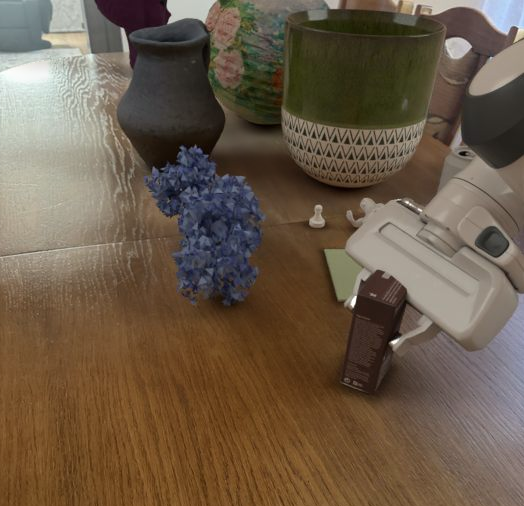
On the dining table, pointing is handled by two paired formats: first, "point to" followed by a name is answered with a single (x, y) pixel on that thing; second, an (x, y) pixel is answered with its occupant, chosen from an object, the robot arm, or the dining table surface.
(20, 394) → the dining table surface
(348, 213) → the figurine
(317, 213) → the chess pawn
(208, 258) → the decorative sculpture
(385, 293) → the box
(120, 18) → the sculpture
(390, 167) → the planter
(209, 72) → the floral painted vase
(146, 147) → the pitcher
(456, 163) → the can
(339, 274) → the mat
